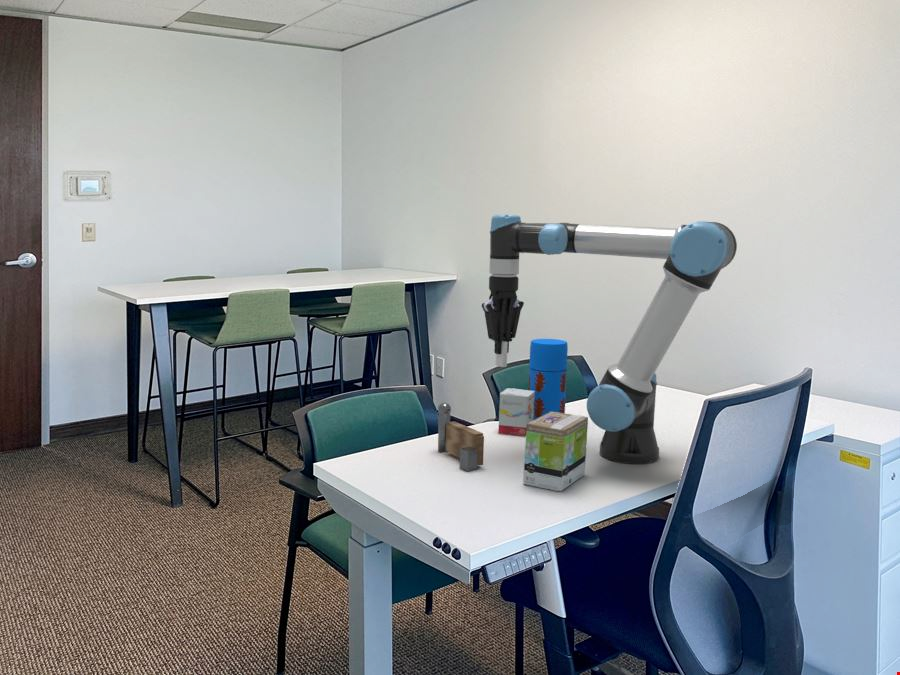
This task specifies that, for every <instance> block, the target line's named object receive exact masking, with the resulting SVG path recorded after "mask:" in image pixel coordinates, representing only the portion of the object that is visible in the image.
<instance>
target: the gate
mask: <svg viewBox="0 0 900 675" xmlns="http://www.w3.org/2000/svg"><path fill="white" fill-rule="evenodd" d="M484 443H485V436H484V433H483V432H482V431H478V430H476V429H474V428H471V427H469V426H466V425H465V424H462V423H459V422H458V421H454V420H453V421H450V422H447V424H446V452H447V453H449V454H451V455H453V456H455V457H457V458H459V459H460V449H461V448H465V447H472V448H475V449H477V450H478V451H477V467H479V466H484V450H485V448H484V447H485V446H484V445H485V444H484Z"/></svg>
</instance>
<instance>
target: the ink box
mask: <svg viewBox="0 0 900 675" xmlns="http://www.w3.org/2000/svg"><path fill="white" fill-rule="evenodd" d="M534 397H535V391H530V390H529V389H521V388H520V389H519V388H513V387H512V388H511V387H510V388H509V387H507V388H505V389H504V390H503V391H501V392H500V393H499V406H498V408H499V410H498V434H500V435H508V434H512V435H511V436H517V435H518V437H526V429H527V423H529V422H531V421H533V415H534ZM501 433H502V434H501Z"/></svg>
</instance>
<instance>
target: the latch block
mask: <svg viewBox="0 0 900 675" xmlns="http://www.w3.org/2000/svg"><path fill="white" fill-rule="evenodd" d="M477 451H478V450H477V449H475V448H472V447H465V448H461V449H460V458H459V469H460V470H462V471H465V472H467V473H468V472H471V471H475V470H478V466H477Z"/></svg>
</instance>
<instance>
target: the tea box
mask: <svg viewBox="0 0 900 675" xmlns="http://www.w3.org/2000/svg"><path fill="white" fill-rule="evenodd" d="M588 425H589V416H584V415H579V414H578V415H577V414H569V413H566V412H565V413H559V412H552V411H551V412H549V413H547V414H545V415H543V416H541V417H539V418H537V419H535V420H533V421H531V422H529V423H527V429H526V436H525V444H524V445H525V446H524V460H523V461H524V464H523V467H524V469H523V479H522V481H523V482H522V484H524V485H527V486H531V487H535V488H540V489H546V490H549V489H550V490H551V491H555V492H562V491H563V490H564V489H566V488H568V487H569V486H571V485H572V484H573V483H574V482H576V481H577V480H578V479H580V478H581V477H583V476H584V475H585V470H586V460H587V459H586V456H587V441H588ZM550 490H549V491H550Z"/></svg>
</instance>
